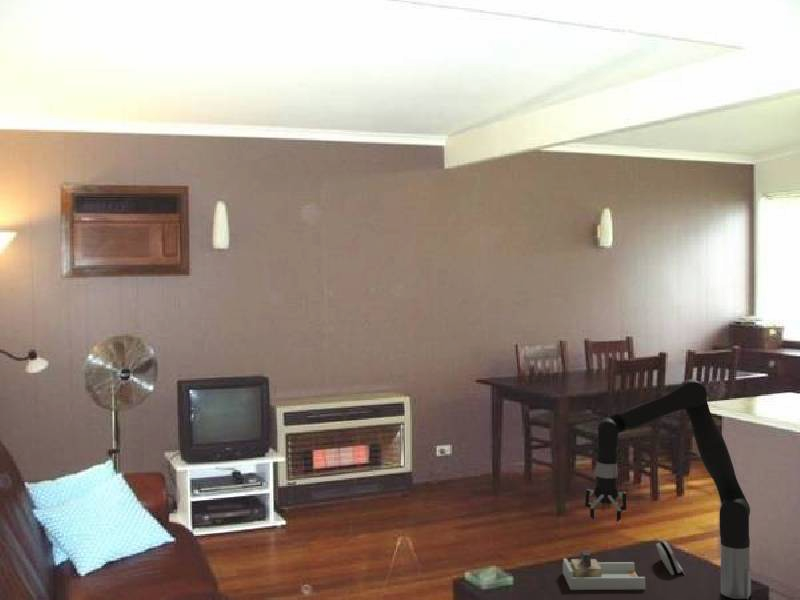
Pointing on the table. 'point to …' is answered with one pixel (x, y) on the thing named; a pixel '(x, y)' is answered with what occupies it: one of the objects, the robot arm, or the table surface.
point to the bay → (606, 577)
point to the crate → (586, 566)
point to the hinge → (669, 558)
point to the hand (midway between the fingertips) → (605, 519)
